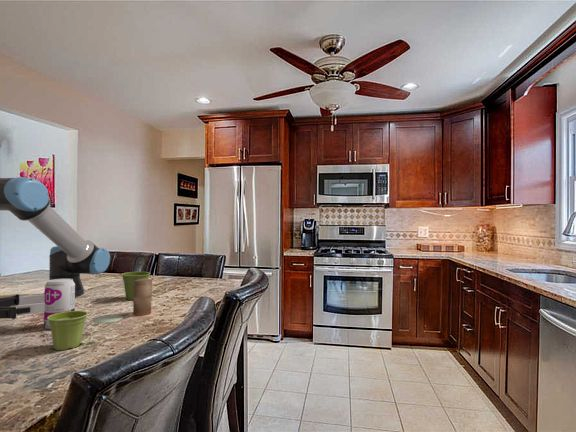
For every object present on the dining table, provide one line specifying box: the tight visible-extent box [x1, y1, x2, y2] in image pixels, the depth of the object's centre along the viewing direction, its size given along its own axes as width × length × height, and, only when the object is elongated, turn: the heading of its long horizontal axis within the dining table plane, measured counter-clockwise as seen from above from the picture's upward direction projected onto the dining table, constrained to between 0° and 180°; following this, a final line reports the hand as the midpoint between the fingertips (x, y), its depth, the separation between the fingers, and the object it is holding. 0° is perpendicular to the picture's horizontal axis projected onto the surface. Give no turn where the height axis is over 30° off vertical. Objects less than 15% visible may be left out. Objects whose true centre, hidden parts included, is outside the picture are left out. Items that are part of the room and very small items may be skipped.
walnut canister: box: [132, 278, 153, 316], centre depth 118 cm, size 6×6×12 cm
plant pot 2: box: [120, 271, 151, 301], centre depth 146 cm, size 12×12×11 cm
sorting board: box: [92, 309, 157, 324], centre depth 115 cm, size 16×20×1 cm
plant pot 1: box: [47, 310, 89, 351], centre depth 90 cm, size 9×9×9 cm
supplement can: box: [43, 279, 76, 330], centre depth 107 cm, size 8×8×15 cm
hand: (44, 302), depth 105 cm, fingers open, 13 cm apart
